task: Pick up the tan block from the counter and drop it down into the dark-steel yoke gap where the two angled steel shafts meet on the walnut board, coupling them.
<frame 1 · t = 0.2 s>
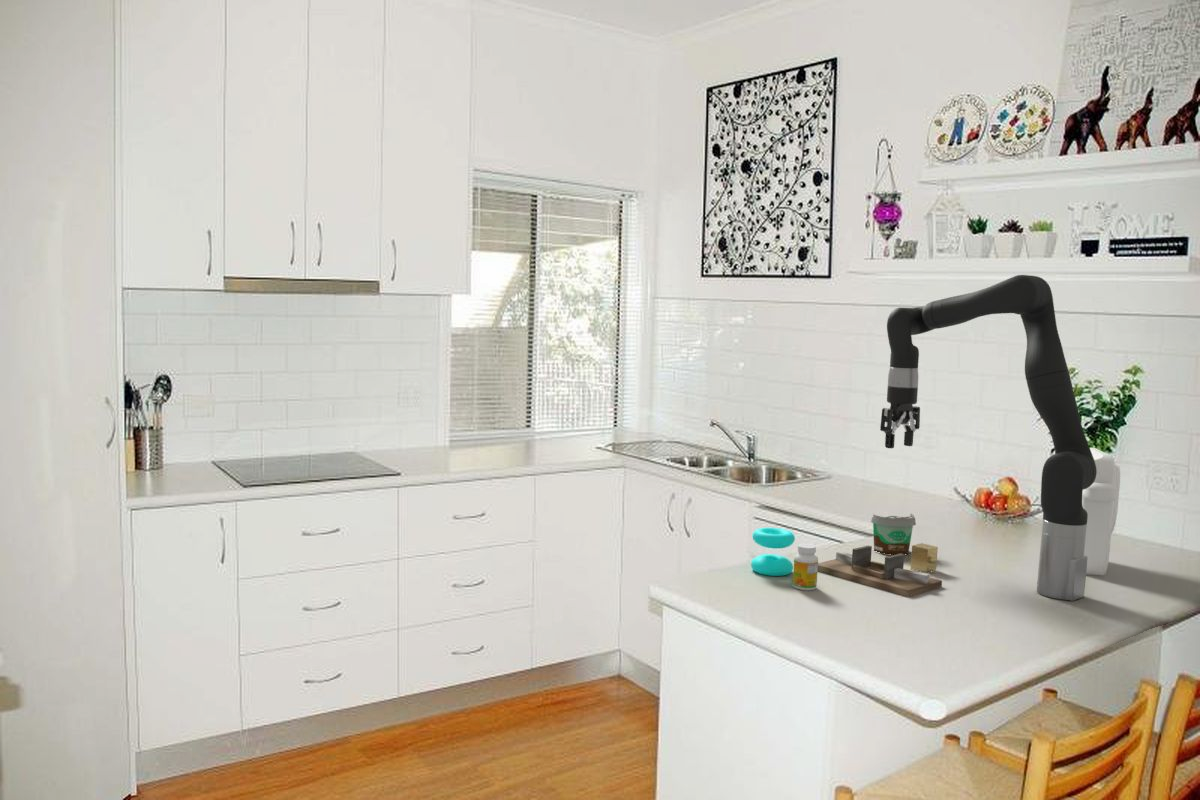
hand: (898, 447, 260), 28 cm above the countertop, fingers open, 8 cm apart
food container: (895, 554, 263), on the countertop
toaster: (1086, 566, 258), on the countertop
donuts: (771, 572, 241), on the countertop
supplement bottle: (804, 588, 229), on the countertop
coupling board: (876, 578, 238), on the countertop
tan block: (923, 569, 248), on the countertop
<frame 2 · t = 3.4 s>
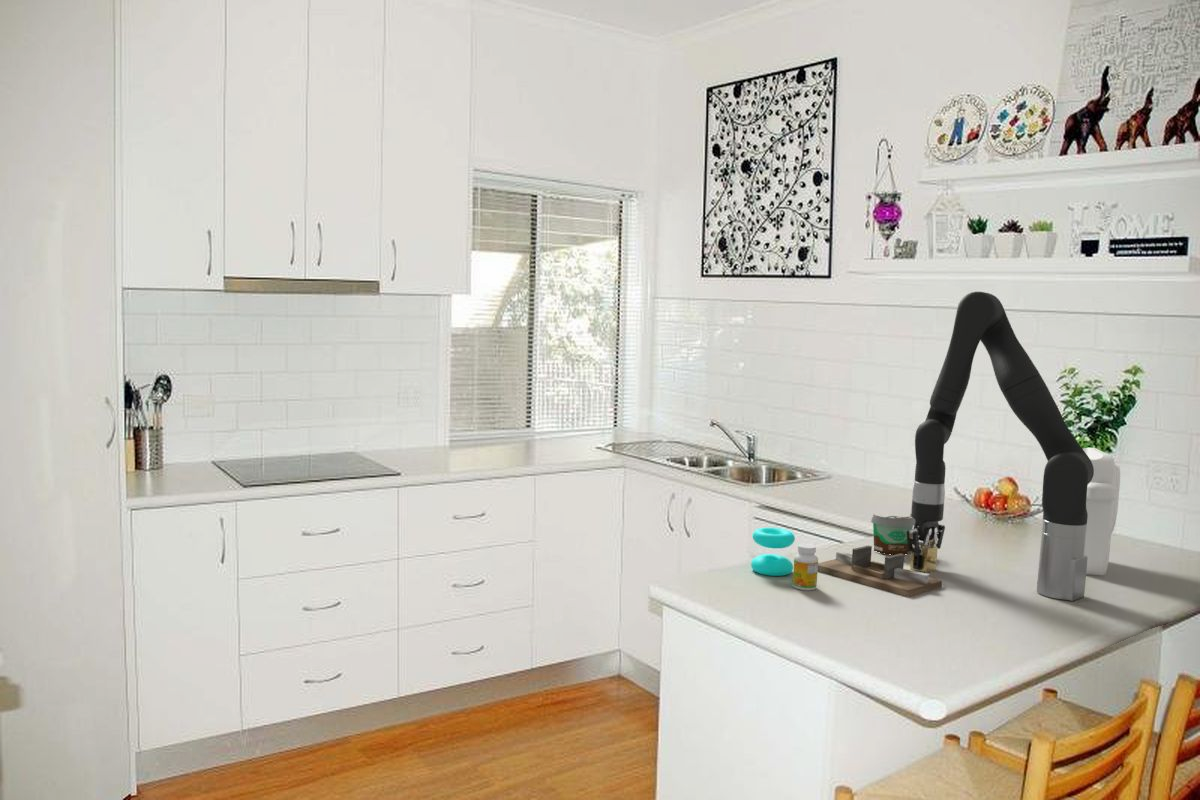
hand: (923, 567, 248), 1 cm above the countertop, fingers closed on tan block, 4 cm apart
tan block: (923, 569, 248), on the countertop, touching gripper
everything else where it was.
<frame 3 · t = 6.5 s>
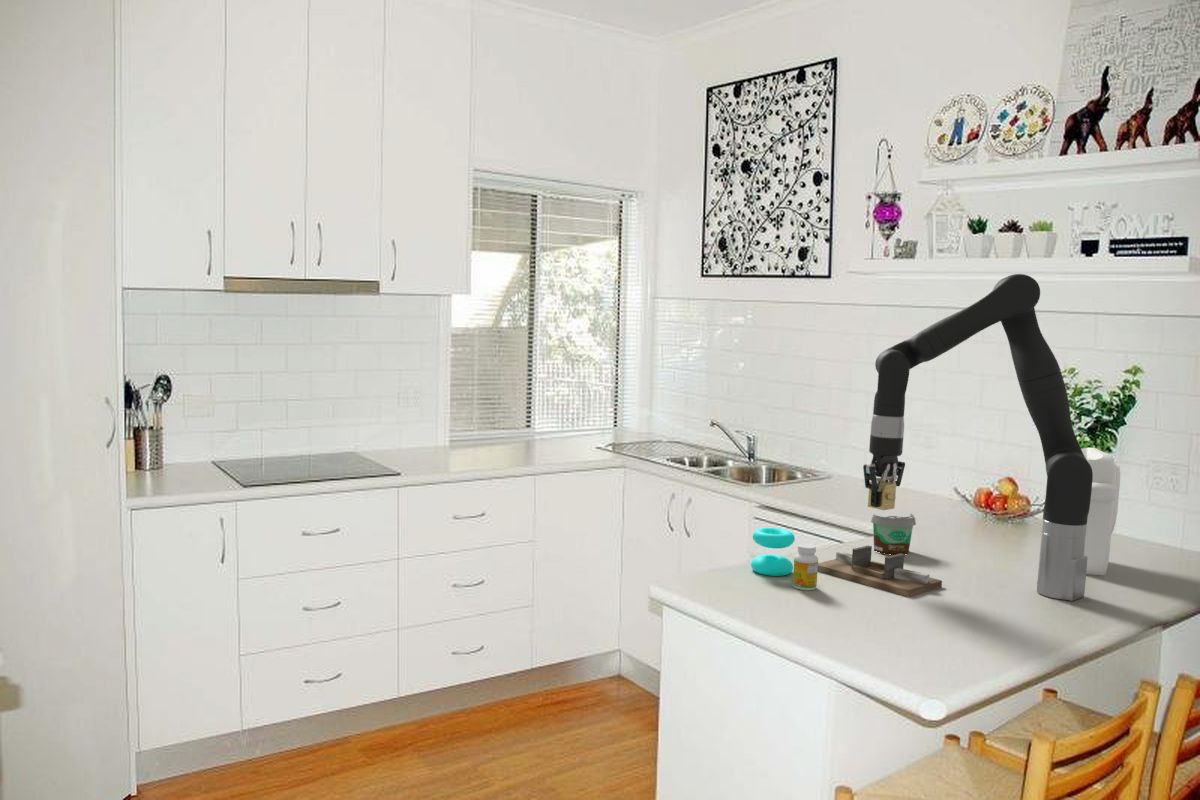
hand: (881, 505, 237), 18 cm above the countertop, fingers closed on tan block, 4 cm apart
tan block: (881, 507, 237), point 17 cm above the countertop, touching gripper
everything else where it was.
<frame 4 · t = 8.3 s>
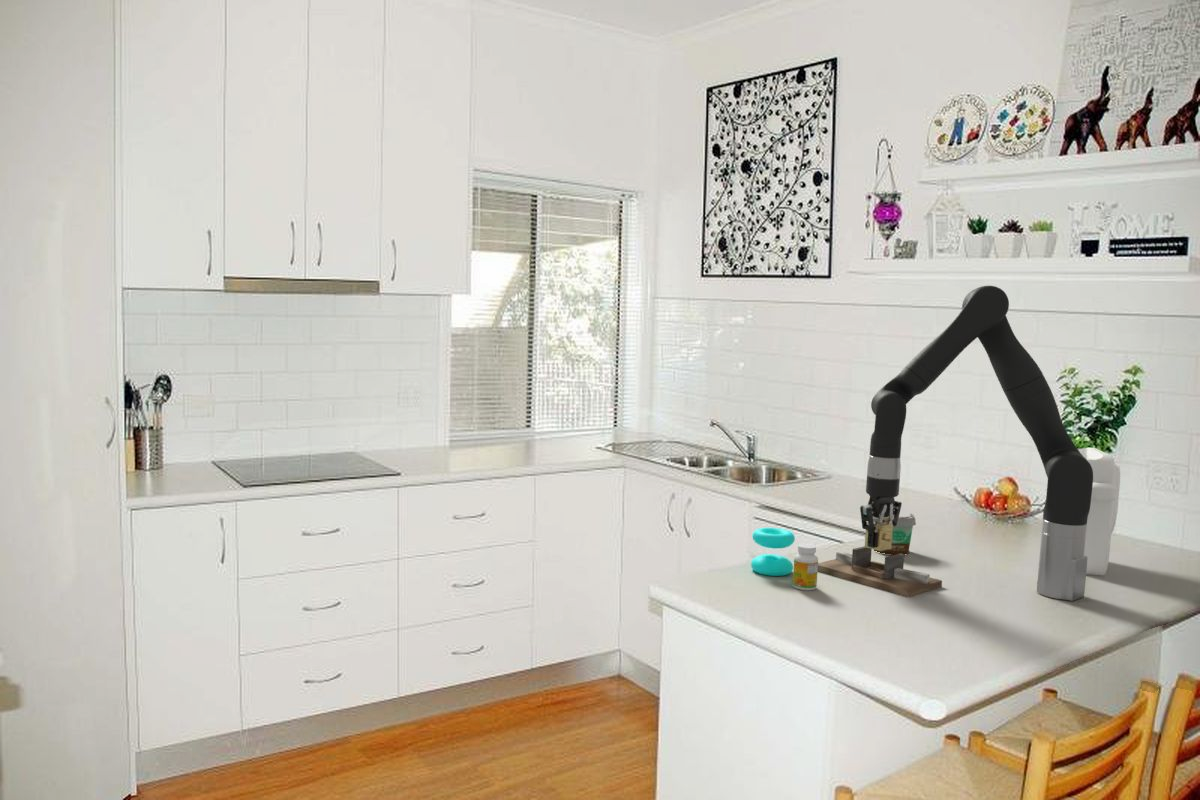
hand: (878, 545, 238), 8 cm above the countertop, fingers closed on tan block, 4 cm apart
tan block: (877, 547, 238), point 7 cm above the countertop, touching gripper
everything else where it was.
when the fingers open (4 cm above the countertop, at t = 9.5 s): tan block drops 2 cm, resting on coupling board.
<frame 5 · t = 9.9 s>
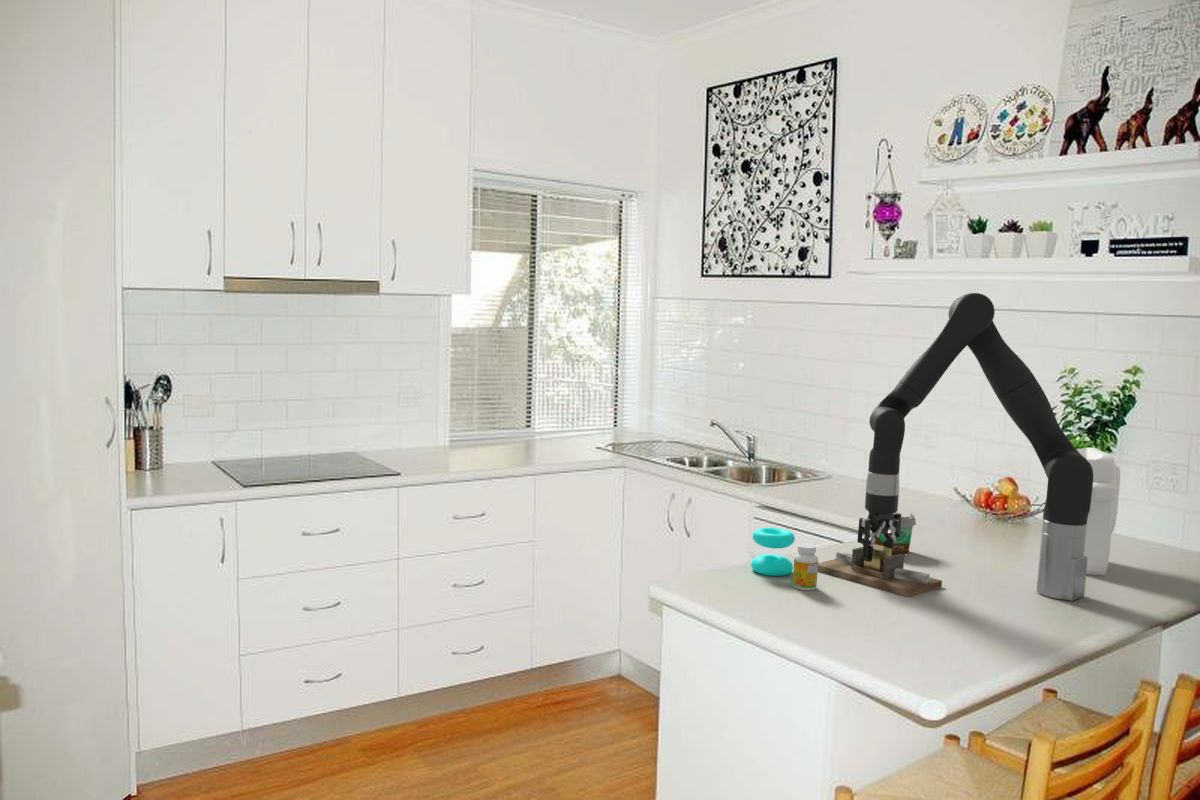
hand: (877, 558, 238), 5 cm above the countertop, fingers open, 8 cm apart
tan block: (876, 572, 238), point 1 cm above the countertop, touching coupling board
everything else where it was.
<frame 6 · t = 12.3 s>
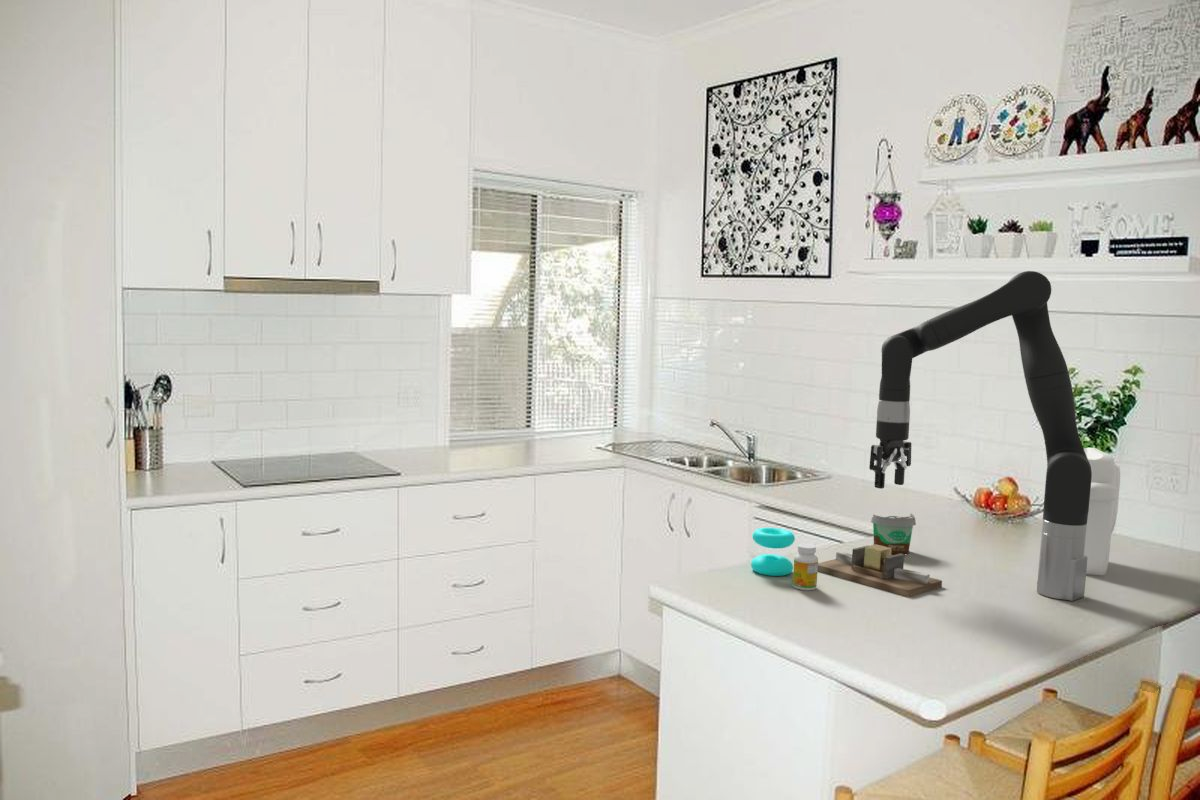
hand: (889, 486, 240), 22 cm above the countertop, fingers open, 8 cm apart
nothing on the countertop moved.
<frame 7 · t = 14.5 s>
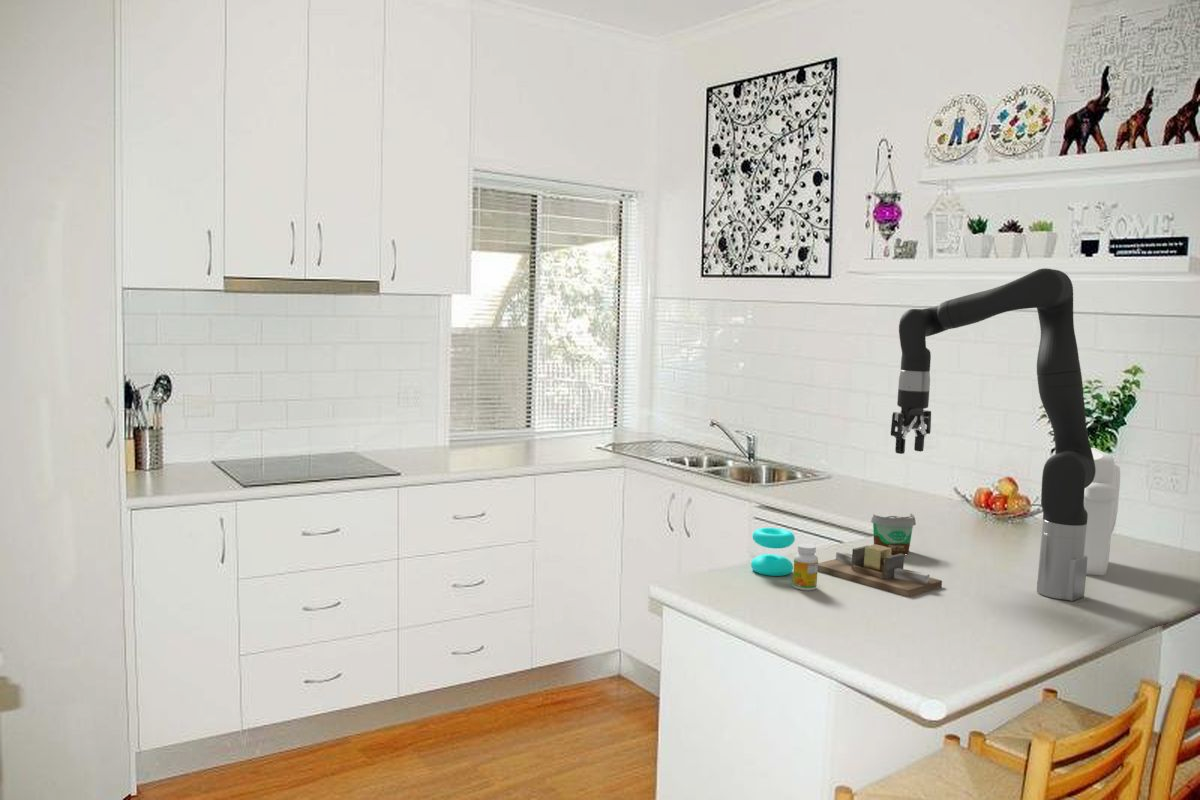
hand: (909, 452, 253), 28 cm above the countertop, fingers open, 8 cm apart
nothing on the countertop moved.
at the end: tan block 0.0 cm off-centre on the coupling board, point 1.5 cm above the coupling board's base; tan block tilted 0°; the gripper is holding nothing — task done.
